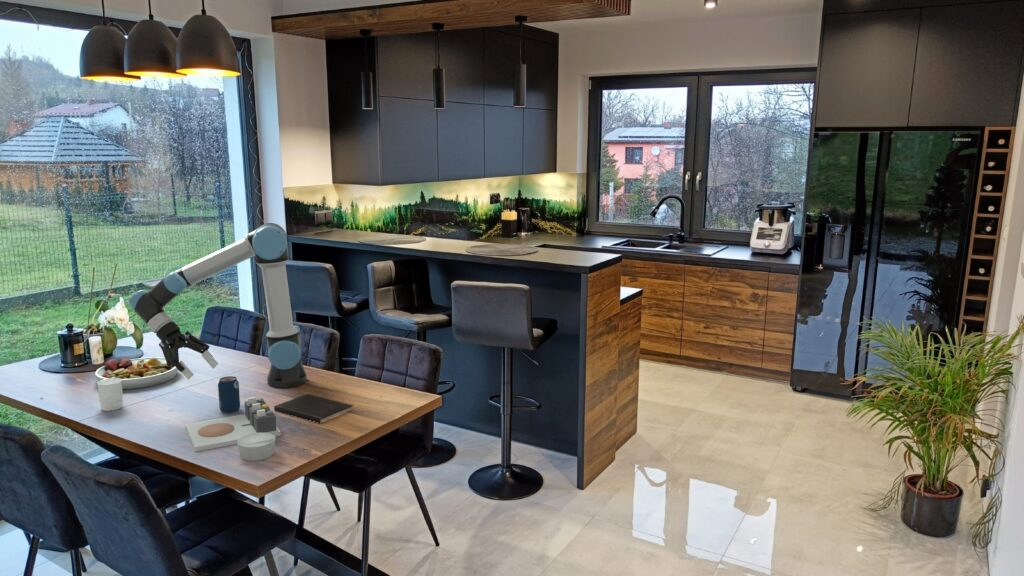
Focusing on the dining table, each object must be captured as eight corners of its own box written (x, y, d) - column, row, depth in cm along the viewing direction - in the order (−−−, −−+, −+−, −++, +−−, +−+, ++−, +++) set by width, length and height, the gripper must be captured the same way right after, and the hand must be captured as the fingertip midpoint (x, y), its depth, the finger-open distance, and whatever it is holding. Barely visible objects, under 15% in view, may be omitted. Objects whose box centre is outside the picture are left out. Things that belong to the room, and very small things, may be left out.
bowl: (194, 371, 305) (193, 353, 304) (147, 394, 276) (145, 374, 275) (131, 366, 310) (129, 349, 309) (78, 388, 281) (76, 369, 280)
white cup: (100, 413, 255) (97, 386, 253) (98, 406, 262) (96, 379, 260) (125, 409, 259) (122, 382, 258) (123, 402, 266) (121, 376, 264)
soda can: (244, 409, 261) (242, 377, 258) (230, 415, 254) (227, 382, 252) (230, 406, 263) (228, 374, 261) (215, 412, 257) (213, 380, 255)
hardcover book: (308, 399, 273) (307, 393, 273) (353, 411, 261) (353, 405, 261) (274, 412, 260) (274, 406, 259) (320, 425, 248) (319, 418, 247)
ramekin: (257, 466, 215) (256, 449, 214) (229, 459, 219) (228, 442, 218) (284, 452, 225) (283, 436, 224) (256, 445, 229) (256, 429, 228)
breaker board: (265, 414, 256) (264, 392, 254) (280, 435, 237) (279, 411, 236) (185, 428, 242) (183, 404, 241) (195, 451, 224) (193, 426, 222)
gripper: (182, 326, 272) (219, 368, 271) (132, 342, 248) (173, 388, 247) (193, 313, 270) (231, 355, 269) (144, 329, 246) (186, 375, 245)
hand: (203, 371), depth 258 cm, fingers open, 13 cm apart
